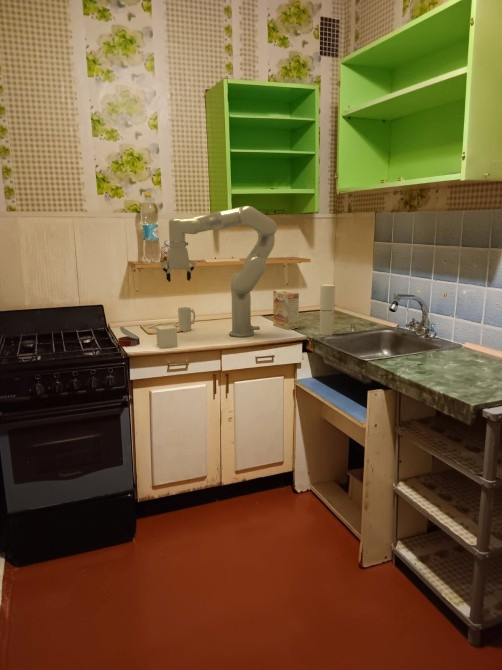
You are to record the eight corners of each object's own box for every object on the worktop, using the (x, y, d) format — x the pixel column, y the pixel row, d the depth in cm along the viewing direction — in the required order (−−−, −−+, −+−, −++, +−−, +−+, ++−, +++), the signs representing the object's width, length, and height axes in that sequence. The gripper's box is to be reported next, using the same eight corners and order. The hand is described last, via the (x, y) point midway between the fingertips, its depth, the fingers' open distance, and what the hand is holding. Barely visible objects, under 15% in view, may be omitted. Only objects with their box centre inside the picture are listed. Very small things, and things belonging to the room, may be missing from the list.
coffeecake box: (272, 325, 283) (272, 290, 279) (283, 323, 287) (283, 289, 282) (287, 330, 271) (288, 293, 266) (298, 328, 274) (299, 292, 270)
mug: (183, 332, 266) (182, 309, 264) (176, 330, 271) (175, 308, 269) (199, 329, 273) (198, 307, 270) (192, 327, 278) (191, 306, 275)
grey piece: (173, 343, 244) (172, 325, 242) (177, 346, 237) (176, 328, 235) (157, 344, 241) (156, 326, 239) (160, 348, 234) (160, 329, 232)
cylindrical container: (316, 333, 263) (317, 284, 257) (328, 332, 265) (330, 283, 260) (323, 336, 256) (325, 286, 251) (336, 334, 259) (337, 285, 253)
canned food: (127, 351, 248) (132, 331, 250) (142, 352, 242) (147, 332, 244) (109, 344, 239) (115, 324, 242) (124, 345, 233) (129, 324, 236)
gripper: (192, 244, 251) (193, 279, 255) (157, 245, 245) (159, 281, 249) (197, 245, 245) (198, 280, 248) (161, 246, 238) (163, 282, 242)
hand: (178, 280), depth 249 cm, fingers open, 9 cm apart
